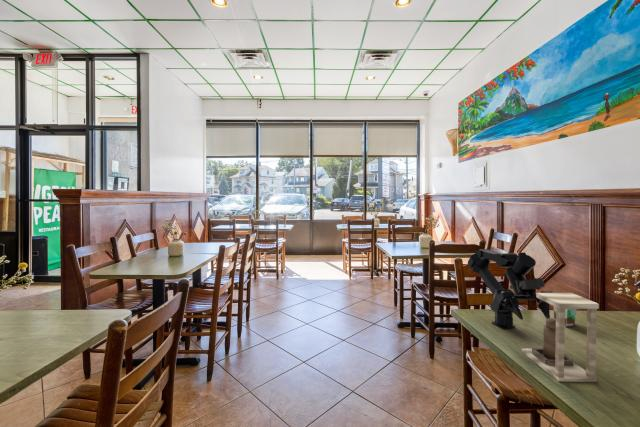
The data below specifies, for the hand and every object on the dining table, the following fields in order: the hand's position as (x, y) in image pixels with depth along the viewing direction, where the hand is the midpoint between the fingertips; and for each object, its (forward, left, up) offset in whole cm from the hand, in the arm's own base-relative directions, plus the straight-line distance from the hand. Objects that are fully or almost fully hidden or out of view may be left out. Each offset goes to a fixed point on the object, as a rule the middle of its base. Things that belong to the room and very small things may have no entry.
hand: (535, 319), depth 110 cm
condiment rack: (+10, -3, -11) cm, 15 cm away
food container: (-16, +32, -11) cm, 38 cm away
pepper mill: (+8, -2, -10) cm, 13 cm away
